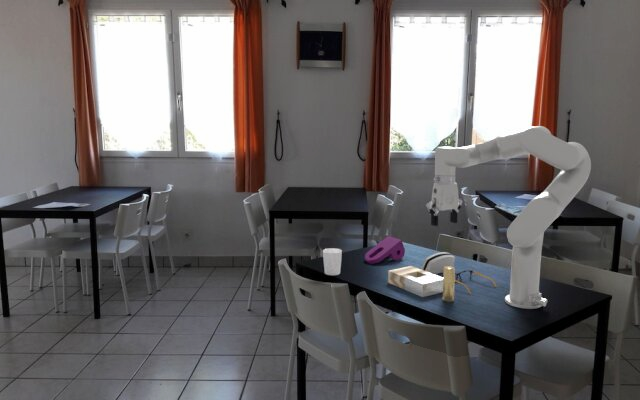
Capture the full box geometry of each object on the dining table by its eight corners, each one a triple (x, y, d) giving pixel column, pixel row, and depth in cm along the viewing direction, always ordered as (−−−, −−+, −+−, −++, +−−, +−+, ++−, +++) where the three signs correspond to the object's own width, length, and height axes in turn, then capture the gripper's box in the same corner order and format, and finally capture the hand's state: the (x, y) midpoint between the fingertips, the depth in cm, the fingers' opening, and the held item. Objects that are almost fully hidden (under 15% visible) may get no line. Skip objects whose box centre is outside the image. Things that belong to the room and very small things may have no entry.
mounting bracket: (379, 276, 236) (406, 254, 243) (373, 262, 233) (401, 239, 240) (366, 271, 244) (393, 250, 251) (360, 257, 240) (387, 235, 248)
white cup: (344, 274, 220) (344, 251, 218) (327, 277, 217) (327, 253, 216) (337, 269, 227) (337, 247, 226) (320, 271, 225) (320, 249, 223)
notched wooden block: (427, 284, 207) (428, 271, 206) (404, 289, 201) (404, 277, 200) (410, 277, 216) (411, 265, 215) (388, 282, 209) (388, 270, 209)
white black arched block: (444, 267, 230) (450, 248, 225) (451, 273, 226) (458, 253, 222) (416, 273, 221) (422, 254, 216) (423, 280, 217) (430, 260, 213)
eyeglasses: (470, 278, 215) (470, 269, 214) (497, 288, 203) (498, 278, 202) (444, 284, 208) (444, 274, 208) (470, 295, 196) (471, 284, 195)
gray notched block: (446, 291, 199) (446, 278, 198) (422, 297, 193) (423, 284, 192) (427, 284, 207) (428, 271, 206) (404, 289, 201) (404, 277, 200)
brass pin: (456, 300, 189) (457, 268, 187) (448, 302, 187) (449, 270, 185) (448, 297, 193) (449, 265, 191) (440, 299, 191) (441, 267, 189)
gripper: (434, 182, 189) (433, 228, 192) (469, 178, 197) (468, 223, 200) (420, 180, 195) (420, 225, 198) (455, 177, 204) (454, 219, 206)
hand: (444, 224), depth 199 cm, fingers open, 9 cm apart
